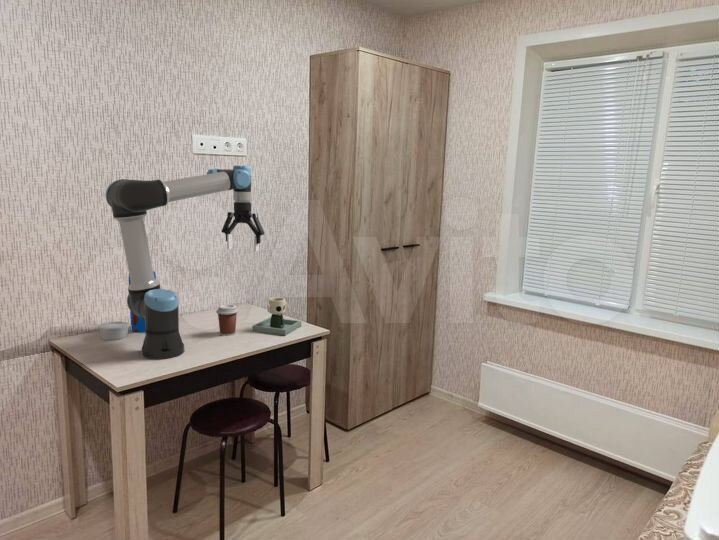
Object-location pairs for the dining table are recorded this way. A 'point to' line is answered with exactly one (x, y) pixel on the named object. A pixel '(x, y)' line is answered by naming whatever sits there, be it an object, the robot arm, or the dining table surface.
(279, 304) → the character mug
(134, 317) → the thermos
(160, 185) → the robot arm
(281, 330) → the tray
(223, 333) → the coffee cup
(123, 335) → the ramekin
